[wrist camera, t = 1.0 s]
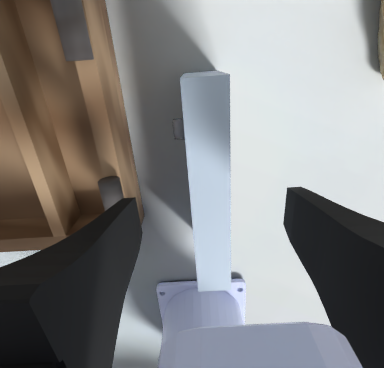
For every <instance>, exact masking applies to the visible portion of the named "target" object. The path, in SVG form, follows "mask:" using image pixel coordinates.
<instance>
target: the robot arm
mask: <svg viewBox="0 0 384 368" xmlns="http://www.w3.org/2000/svg"><path fill="white" fill-rule="evenodd" d="M284 227H285V230H286V232H287V235H288V238H289V240H290V242H291V244H292V246H293V248H294V250H295V252H296V253H297V255H298V257H299V259H300V261H301V262H302V264H303V266H304V268H305V269H306V271H307V273H308V275H309V276H310V278H311V280H312V282H313V284H314V286H315V288H316V290H317V292H318V294H319V297H320V299H321V301H322V304H323V306H324V308H325V311H326V313H327V316H328V318H329V321H330V323H331V326H332V327H331V326H328V325H324V324H316V323H309V322H293V323H271V324H249V325H245V297H246V284H245V281H244V280H243V279H231V290H223V291H204V292H198V283H197V281H183V282H164V283H159V284H157V287H156V292H157V297H158V302H159V308H160V313H161V318H162V324H163V334H162V343H161V350H160V355H159V360H158V368H384V222H381V221H378V220H375V219H373V218H370V217H367V216H364V215H362V214H359V213H357V212H355V211H352V210H350V209H348V208H345V207H343V206H341V205H339V204H337V203H334V202H332V201H330V200H328V199H326V198H324V197H322V196H320V195H318V194H316V193H314V192H312V191H309V190H307V189H305V188H302V187H291V188H287V195H286V204H285V214H284ZM141 238H142V228H141V223H140V218H139V212H138V207H137V202H136V197H133V198H123V199H121V200H119V201H118V202H117V203H115V204H114V205H113V206H111V207H110V208H109V209H107V210H106V211H105V212H103V213H102V214H101V215H99V216H98V217H97V218H95V219H94V220H93V221H91V222H90V223H88V224H87V225H85V226H84V227H82V228H81V229H80V230H78V231H76V232H75V233H73V234H72V235H70V236H68V237H66V238H65V239H63V240H61V241H59V242H57V243H56V244H53V245H51V246H49V247H47V248H45V249H43V250H41V251H39V252H37V253H35V254H33V255H30V256H28V257H26V258H23V259H21V260H18V261H16V262H13V263H11V264H8V265H5V266H3V267H0V368H112V363H113V357H114V351H115V345H116V339H117V334H118V328H119V323H120V318H121V313H122V308H123V303H124V298H125V295H126V291H127V288H128V285H129V282H130V278H131V275H132V272H133V269H134V266H135V263H136V260H137V256H138V253H139V250H140V244H141Z"/></svg>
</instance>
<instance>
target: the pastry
mask: <svg viewBox="0 0 384 368" xmlns="http://www.w3.org/2000/svg"><path fill="white" fill-rule="evenodd" d="M378 59H379V63H380V72H381V74H382V78H383V80H384V0H381V6H380V11H379V31H378Z"/></svg>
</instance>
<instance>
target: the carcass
mask: <svg viewBox="0 0 384 368" xmlns="http://www.w3.org/2000/svg"><path fill="white" fill-rule="evenodd" d="M133 197H136V202H137V207H138V212H139V218H140V223H141V224H142V221H143V218H144V211H143V206H142V200H141V195H140V189H139V184H138V178H137V173H136V167H135V162H134V156H133V151H132V145H131V140H130V134H129V129H128V123H127V118H126V112H125V107H124V101H123V96H122V90H121V85H120V79H119V74H118V69H117V63H116V58H115V52H114V47H113V41H112V36H111V30H110V25H109V19H108V14H107V8H106V3H105V0H0V252H12V251H29V250H43V249H45V248H47V247H49V246H51V245H53V244H56V243H57V242H59V241H61V240H63V239H65V238H66V237H68V236H70V235H72V234H73V233H75V232H76V231H78V230H80V229H81V228H82V227H84V226H85V225H87V224H88V223H90V222H91V221H93V220H94V219H95V218H97V217H98V216H99V215H101V214H102V213H103V212H105V211H106V210H107V209H109V208H110V207H111V206H113V205H114V204H115V203H117V202H118V201H119V200H121V199H123V198H133Z"/></svg>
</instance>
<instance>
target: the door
mask: <svg viewBox="0 0 384 368" xmlns="http://www.w3.org/2000/svg"><path fill="white" fill-rule="evenodd" d="M180 87H181V98H182V110H183V119H174V120H173V128H174V137H175V139H185V144H186V156H187V168H188V179H189V191H190V202H191V214H192V226H193V237H194V249H195V260H196V272H197V283H198V292H204V291H223V290H231V188H230V74H227V73H223V72H220V71H205V72H192V73H184V74H183V75H182V76H181V78H180Z"/></svg>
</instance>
